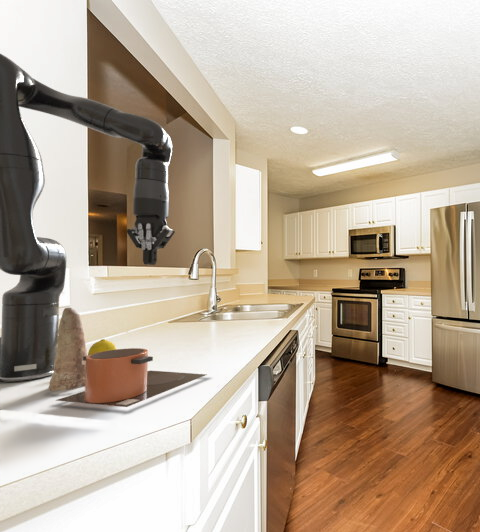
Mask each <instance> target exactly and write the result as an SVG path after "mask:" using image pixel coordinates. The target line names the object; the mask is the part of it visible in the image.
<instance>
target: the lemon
mask: <svg viewBox="0 0 480 532" xmlns="http://www.w3.org/2000/svg"><path fill="white" fill-rule="evenodd" d="M116 349H117V347H116V345H115V344H114V343H113V342H112V341H109V340H107V339H105V338H102V339H100V340H99V341H96V342H94V344H92V345H91V346H90V348H89V349H88V352H87V356H88V355H91V354H94V353H98V352H103V351H109V350H116Z"/></svg>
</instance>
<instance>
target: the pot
mask: <svg viewBox="0 0 480 532" xmlns="http://www.w3.org/2000/svg"><path fill="white" fill-rule="evenodd" d="M83 361H86V370H85V386H84V391H85V401H86V402H88V403H109V402H116V401H121V400H126V399H129V398H133V397H136V396H138V395H141V394H143V393H144V392H146V390H147V371H148V367H149V365H148V364H149V362H152V361H154V357H153V356H149V350H148V349H146V348H139V347H138V348H137V347H136V348H135V347H131V348H118V349H117V348H116V350H109V351H103V352H98V353H94V354H91V355H88V354H87V356H84V357H83ZM88 403H87V404H88Z"/></svg>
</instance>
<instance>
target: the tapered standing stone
mask: <svg viewBox="0 0 480 532" xmlns="http://www.w3.org/2000/svg"><path fill="white" fill-rule="evenodd" d="M57 342H58V346H57V349H56V357H55V361H54V371H53V375H51V377H50V379H49V385H48V391H49V392H57V391H65V390H71V389H72V390H73V389H77V388H81V387H85V370H86V361H83V357H84V356H88V352H87V346H86V338H85V332H84V328H83V323H82V319H81V315H80V313H78V311H76V310H75V309H74V308H72V307H65V308H63V310H62V314H61V317H60V320H59V325H58V338H57Z"/></svg>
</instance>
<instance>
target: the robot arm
mask: <svg viewBox="0 0 480 532" xmlns="http://www.w3.org/2000/svg"><path fill="white" fill-rule="evenodd" d="M20 108H23V109H27V110H32V111H36V112H41V113H43V114H48V115H52V116H55V117H58V118H61V119H64V120H68V121H70V122H72V123H75V124H78V125H81V126H83V127H86V128H89V129H91V130H93V131H95V132H99V133H102V134H104V135H107V136H109V137H113V138H116V139H125V140H129V141H131V142H134V143H136V144H138V145H140V147H141V150H142V151H141V157H140V158H138V159H137V160H136V162H135V171H134V173H135V174H134V175H135V176H134V177H135V178H134V185H133V199H132V201H133V204H132V214H133V216H134V217H135V221H134V226H133V227H132V228H127V229H126V234H127V235H128V236H129V238H130V240H131V241H132V243H133V244H134V246H135V248H138V249H141V250H142V262H143V265H146V266H150V265H151V266H155V265H156V264H157V262H158V251H159V250H160V249H164V248H166V246H167V244H168V243H169V242H170V240H171V239H172V237H173V236H174V234H175V233H176V232H175V229H171V228H170V227H169V226H168V223H167V220H166V219H168V218H169V207H170V206H169V200H170V198H169V197H170V192H169V185H168V184H169V166H170V162H171V158H172V154H173V142H172V138H171V136H170V135H169V134H168V133H167V131H166V130H165V129H164V128H163V126H161V124H160V123H158V122H156V121H154V120H153V119H150V118H147V117H145V116H142V115H138V114H134V113H130V112H125V111H122V110H121V109H118V108H115V107H112V106H110V105H107V104H105V103H103V102H99V101H97V100H94V99H91V98H87V97H83V96H76V95H71V94H67V93H64V92H61V91H58V90H56V89H54V88H52V87H50V86H48V85H46V84H44V83H42V82H40V81H38V79H37V80H36V79H35V78H33V77H32V76H31V75H30V74H29V73H28V72H27V71H25V70H24V69H23V68H21V66H19V65H18V64H17V63H16V62H15V61H13V60H12V59H10V58H8V57H7V56H6V55H4V54H3V53H0V271H2V272H3V273H6V274H9V275H12V276H19V281H18V282H17V284H16V285H15V286H14V287H12V288H10V289H9V290H7V291H5V292H4V293H3V294H2V297H1V328H0V329H1V331H0V332H1V333H0V382H3V383H10V382H11V383H13V382H22V381H23V382H24V381H31V380H36V379H42V378H46V377H49V376H50V377H51V376H52V375H53V371H54V361H55V357H56V349H57V346H58V342H57V338H58V329H59V324H60V320H59V319H60V315H59V314H60V298H61V297H60V296H61V294H62V293H63V291H64V289H65V284H66V283H65V281H66V272H67V253H66V250H65V248H64V246H63V245H62V244H61V243H60V242H59V241H57V240H55V239H52V238H50V237H49V238H48V237H42V236H37V234H36V231H35V226H34V216H33V214H34V209H35V206H36V203H37V202H38V200H39V198H40V196H41V195H42V192H43V190H44V187H45V183H46V177H45V171H44V164H43V159H42V155H41V152H40V150H39V148H38V146H37V144H36V142H35V140H34V138H33V135H32V134H31V132H30V131H29V129H28V127H27V125H26V124H25V122H24V119H23V116H22V114H21V110H20Z"/></svg>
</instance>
